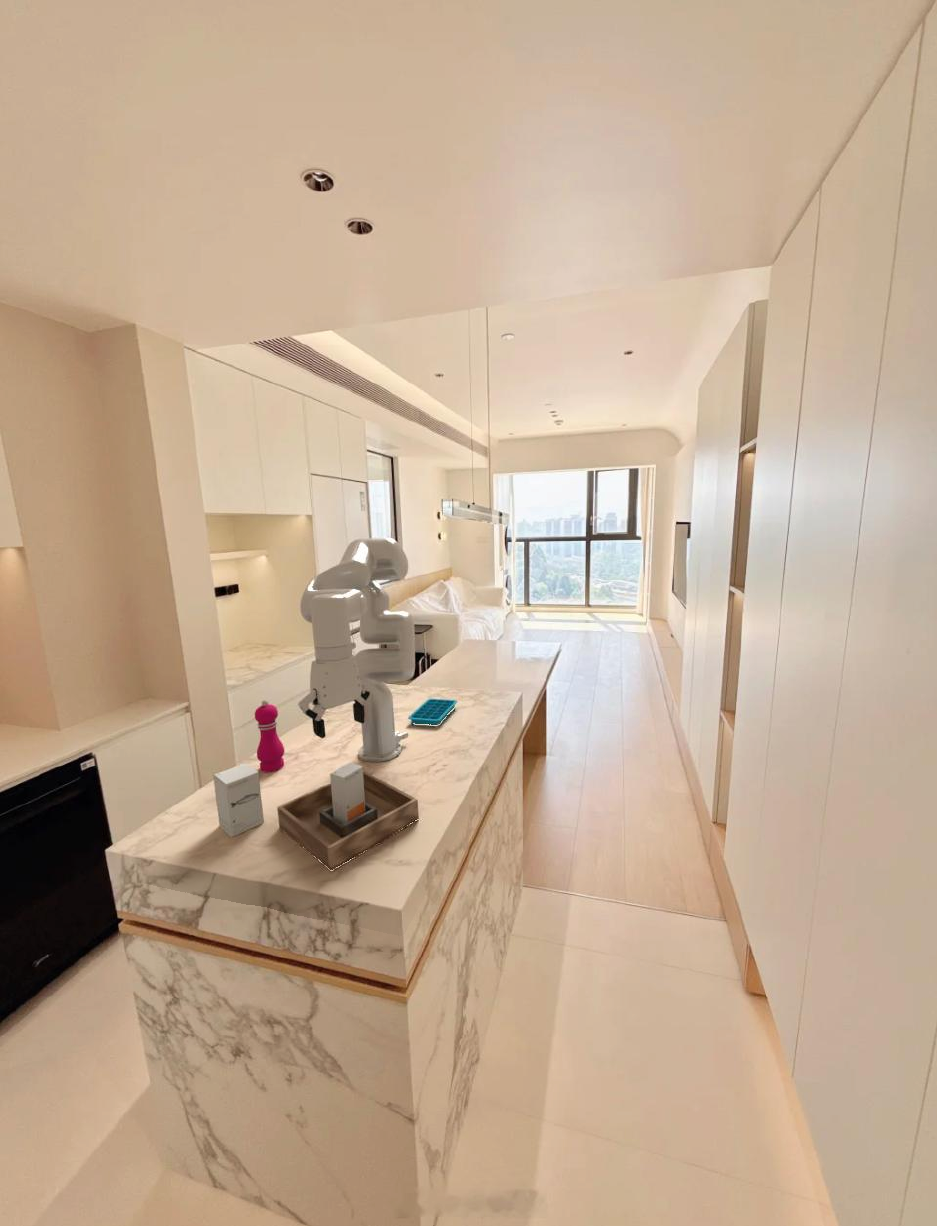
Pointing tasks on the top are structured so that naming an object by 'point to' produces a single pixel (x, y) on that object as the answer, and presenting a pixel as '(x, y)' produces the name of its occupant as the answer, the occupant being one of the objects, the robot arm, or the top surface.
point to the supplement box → (238, 799)
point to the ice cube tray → (432, 711)
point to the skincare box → (348, 792)
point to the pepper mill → (269, 738)
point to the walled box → (342, 842)
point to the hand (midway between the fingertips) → (340, 728)
